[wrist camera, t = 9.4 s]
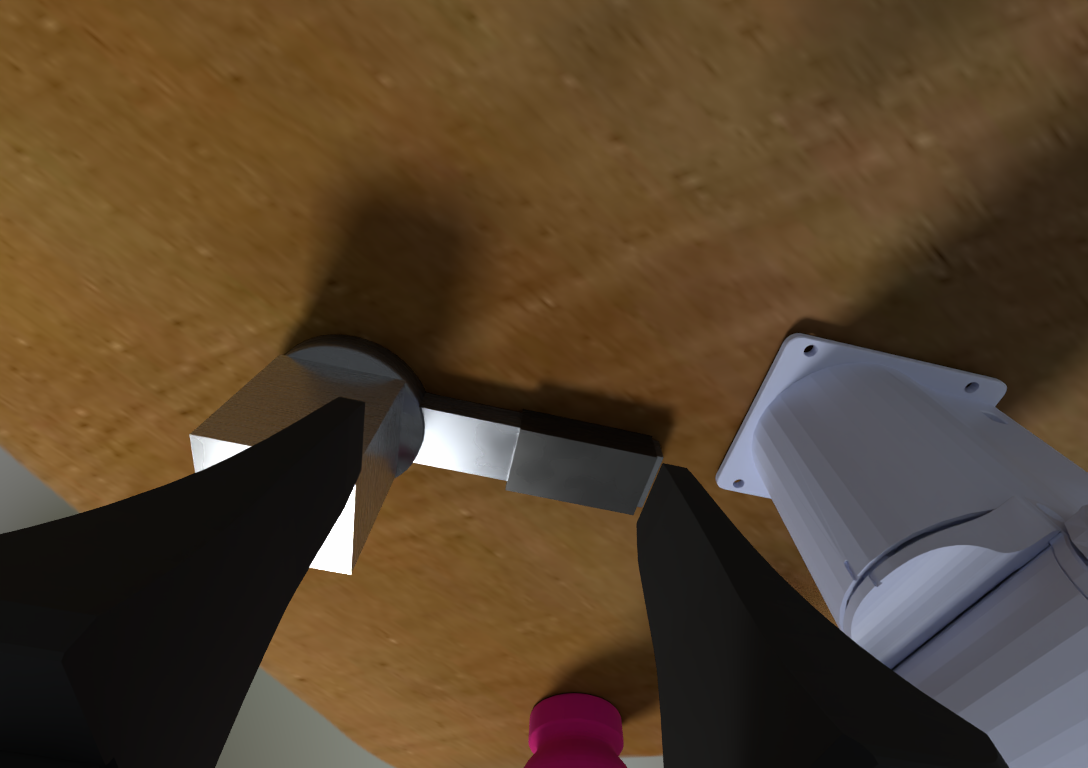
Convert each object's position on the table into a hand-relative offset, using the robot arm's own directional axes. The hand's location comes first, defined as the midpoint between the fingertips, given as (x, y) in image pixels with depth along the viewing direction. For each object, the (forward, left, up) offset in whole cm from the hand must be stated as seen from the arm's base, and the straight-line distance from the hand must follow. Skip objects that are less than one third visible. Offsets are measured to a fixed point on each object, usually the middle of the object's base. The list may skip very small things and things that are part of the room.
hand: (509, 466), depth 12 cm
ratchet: (+2, +6, -9) cm, 11 cm away
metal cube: (+7, +6, -8) cm, 12 cm away
